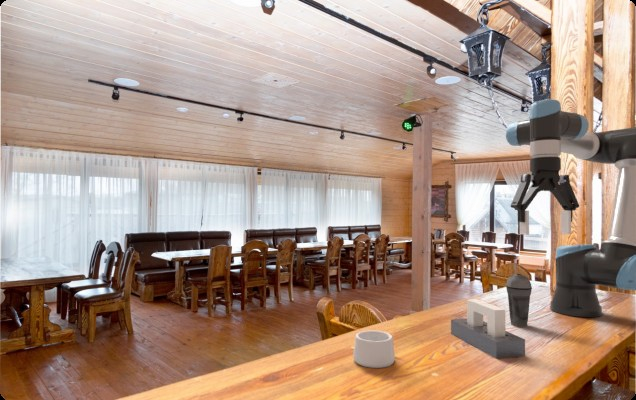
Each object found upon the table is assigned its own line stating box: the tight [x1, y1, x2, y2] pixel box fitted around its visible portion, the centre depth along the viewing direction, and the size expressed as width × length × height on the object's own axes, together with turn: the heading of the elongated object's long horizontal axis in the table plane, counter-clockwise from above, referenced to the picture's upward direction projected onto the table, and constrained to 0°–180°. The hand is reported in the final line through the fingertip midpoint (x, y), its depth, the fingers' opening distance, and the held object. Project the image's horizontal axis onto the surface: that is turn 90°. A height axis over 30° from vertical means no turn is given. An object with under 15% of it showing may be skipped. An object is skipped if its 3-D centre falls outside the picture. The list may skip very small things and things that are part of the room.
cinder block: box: [450, 317, 526, 360], centre depth 110 cm, size 8×20×4 cm, turn 13°
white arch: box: [466, 298, 506, 337], centre depth 110 cm, size 12×3×10 cm, turn 13°
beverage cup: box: [505, 258, 533, 328], centre depth 127 cm, size 7×7×20 cm
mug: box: [352, 329, 395, 369], centre depth 99 cm, size 12×10×6 cm
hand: (545, 234), depth 114 cm, fingers open, 13 cm apart
